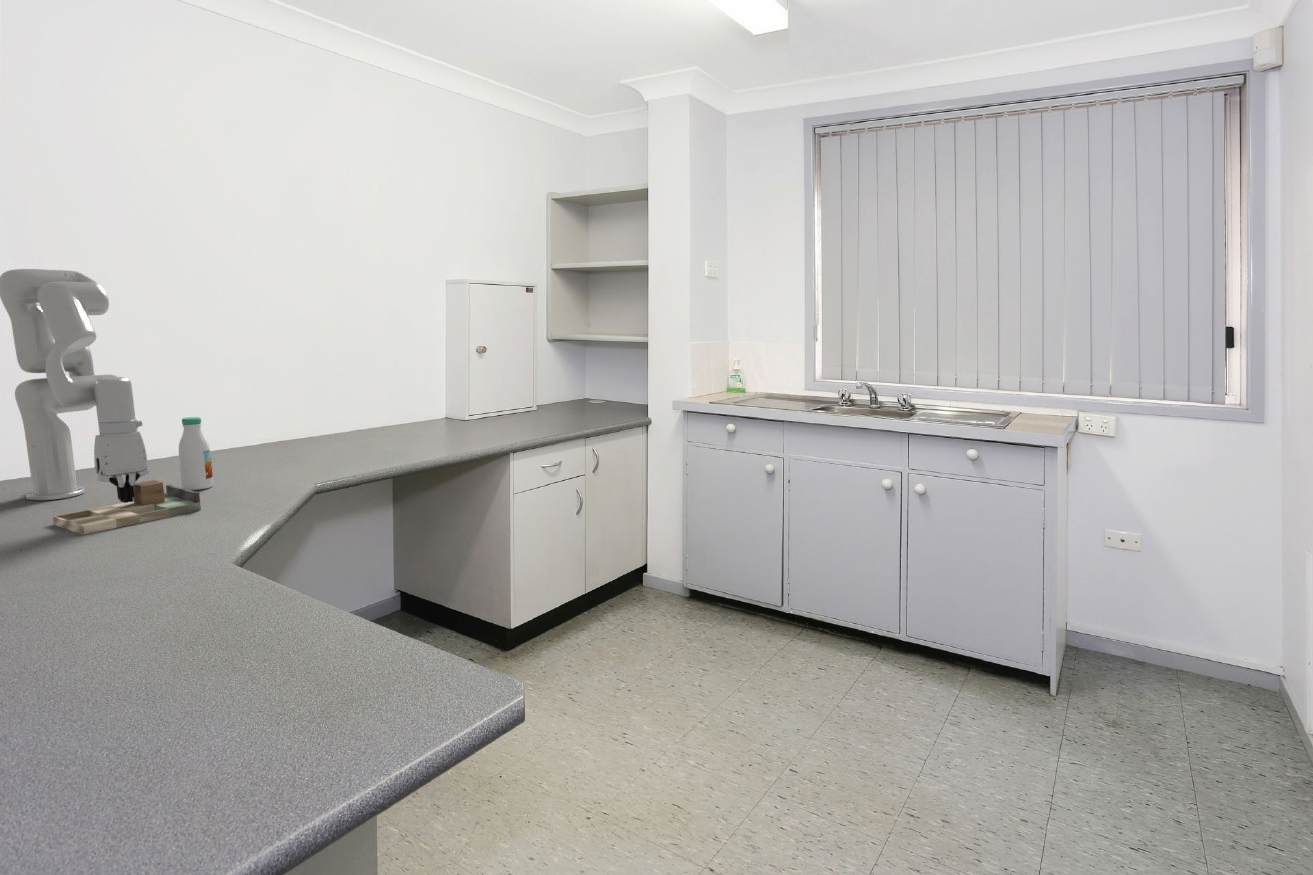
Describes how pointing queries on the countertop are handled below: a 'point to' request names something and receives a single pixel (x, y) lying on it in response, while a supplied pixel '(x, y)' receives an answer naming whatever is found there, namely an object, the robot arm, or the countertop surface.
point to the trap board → (129, 512)
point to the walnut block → (148, 492)
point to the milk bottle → (194, 456)
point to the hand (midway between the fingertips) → (126, 501)
